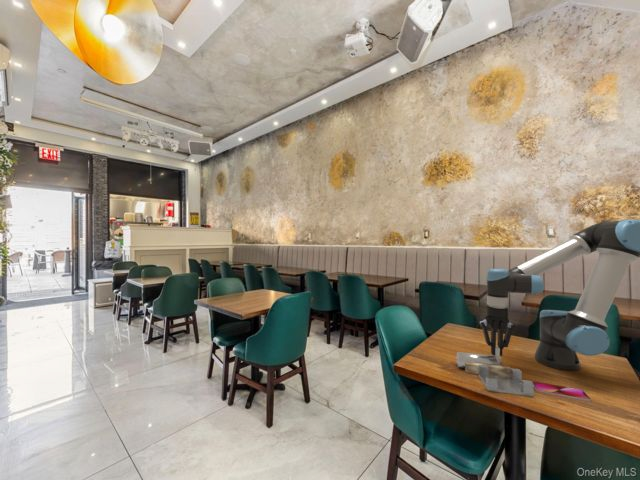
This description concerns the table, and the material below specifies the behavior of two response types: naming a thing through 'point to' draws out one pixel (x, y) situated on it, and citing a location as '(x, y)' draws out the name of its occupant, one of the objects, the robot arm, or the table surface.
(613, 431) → the table surface
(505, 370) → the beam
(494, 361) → the axle
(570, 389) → the smartphone
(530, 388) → the cradle
